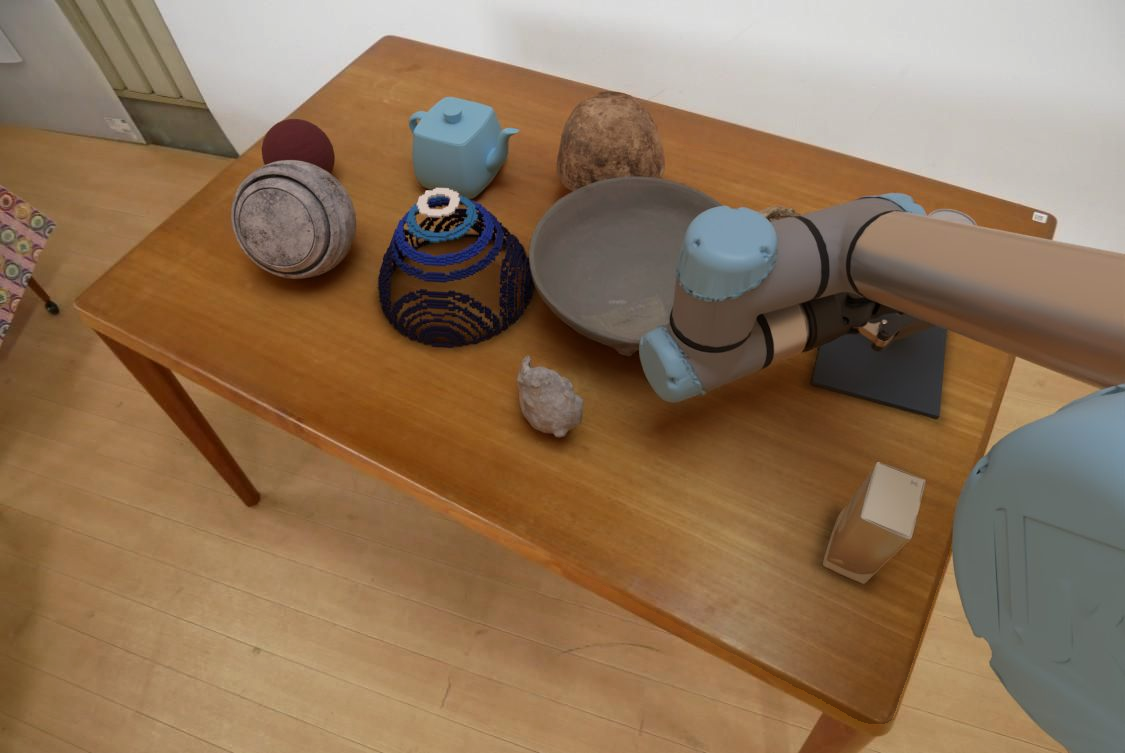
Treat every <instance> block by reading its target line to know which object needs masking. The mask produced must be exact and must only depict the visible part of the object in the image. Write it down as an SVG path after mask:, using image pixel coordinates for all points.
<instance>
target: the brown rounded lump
mask: <svg viewBox="0 0 1125 753" xmlns="http://www.w3.org/2000/svg"><path fill="white" fill-rule="evenodd" d="M665 158H666V157H665V151H664V146H663V140H662V137H661V133H660V130H659V127H658V126H657V123H656V121H655V119H654V117H653V116H652V115H651V113H650V112H649V110H648V109H647V108H646V107H645V106H644V105H642V103H640V102H639V101H638V100H637V99H636V98H635V97H634V96H633V95H631V94H628V93H625V92H620V91H615V90H614V91H612V90H609V91H608V90H606V91H605V90H604V91H599V92H595V93H594V94H593V95H590V96H588V97H587V98H585V99H584V100H582V101H580V103H578V104H577V105H576V106H575V107H574V108H573V109H572V112H571V113H570V115H569V116H568V117H567V120H566V122H565V123H564V127H563V130H562V133H561V137H560V143H559V147H558V152H557V158H556V168H555V169H556V175H557V177H558V178H559V181H560V182H561V184H562V185H563V186H564V187H566V188H567V189H568V190H569V191H571V192H573V191H575V190H577V189H579V188H582V187H584V186H586V185H589V184H591V183H594V182H598V181H601V180H606V179H611V178H619V177H653V178H660V179H663V176H664V173H665V170H666V159H665Z"/></svg>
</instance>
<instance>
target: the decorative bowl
mask: <svg viewBox="0 0 1125 753" xmlns="http://www.w3.org/2000/svg"><path fill="white" fill-rule="evenodd" d="M459 205H460V206H461V205H462V206H464V207H465V208H460V206H459ZM443 206H445V207H443ZM442 207H443V208H442ZM417 215H421V216H426V217H425V218H424V219H423V220H422V221H421V222H420V223H419V224H418V222H417ZM441 218H442V219H441ZM440 219H441V220H440ZM439 220H440V221H439ZM438 221H439V222H438ZM437 222H438V223H437ZM435 223H436V224H435ZM405 225H406V227H407V229H406V228H405ZM443 226H444V227H443ZM432 227H434V229H433V230H431V229H432ZM452 227H453V228H452ZM451 228H452V229H451ZM471 230H472V231H474V232H476V234H475V233H473V234H472V233H468V232H470V231H471ZM464 237H467V238H477V241H474V244H469V247H466V248H462V249H461V251H456V253H452V252H447V253H446V254H439V255H432V254H431V253H426V252H425V251H418V249H420V248H422V247H423V246H427V245H429V244H434V243H435V244H440V242H447V241H454V240H459V239H463V238H464ZM413 238H415V240H414V239H413ZM419 240H421V242H420V241H419ZM422 240H423V241H422ZM409 241H410V243H409ZM414 241H415V242H414ZM489 241H490V242H492V241H493V242H494V244H493V247H491V248H490V250H488V251H487V254H485V255H484V257H482V258H481V259H479V260H477V261H476V263H472V264H471V265H468V266H467V267H466V268H461V269H454V271H453V270H452V271H451V270H450V271H448V272H449V273H448V274H447V273H445V272H438V271H437V272H436V271H426V272H425V273H424V270H423V269H420V268H419V267H416V266H415V265H408V262H404V260H405V259H406V258H408V260H410V261H411V260H412V262H416V263H417V264H423V266H428V267H429V266H431V267H433V266H434V267H447V266H454V265H455V264H457V265H458V264H459V265H461V264H462V263H464V261H465V262H468V261H469V260H472V259H473V258H475V257H477V256H479V255H480V252H481V253H482V252H483V251H485V249H486V246H489ZM415 244H416V245H415ZM503 246H505V247H506V250H505V254H504V258H502V259H501V263H500V264H501V266H500V273H499V285H501V287H500V286H499V291H498V292H499V294H501V296H498V307H499V310H498V311H499V313H498V315H499V317H498V315H497V314H495V313H494V312H493V310H492V308H490V307H489V306H488V307H487V305H483V303H482V302H480V300H475V297H471V296H470V294H466V293H465V294H464V293H463V292H457V291H456V290H448V291H435V290H428V289H426V288H420V289H419V290H416V289H415V291H409V292H408V293H403V294H404V295H402V296H400V297H399V299H397V300H396V301H395V302H393V305H392V299H391V298H392V296H391V291H392V290H391V288H392V287H391V285H392V283H391V282H392V281H391V279H392V278H391V277H392V275H393V272H394V271H395V272H396V269H397V267H398V269H400V271H402V273H405V274H406V275H407V276H409V277H413V278H415V279H418V281H419V280H421V281H424V282H428V283H445V284H447V283H448V282H455V281H461V280H462V279H467V278H469V277H470V276H471V277H474V276H475V275H476V274H477V273H480V272H482V270H485V269H487V267H488V266H490V264H493V261H496V256H497V257H498V256H499V252H502V249H503ZM525 248H526V247H524V245H523V244H522V243H521V242H520V239H519V238H518V237H517V236H516V235H515V234H513V233H511V231H509V228H507V227H506V226H504V225H503V222H501V221H499V220H498V217H496V215H495V214H493V212H491V211H490V210H488V208H486V207H485V206H482V203H479V202H476V201H474V200H471V199H467V197H463V196H462V195H459V193H457V192H456V191H453V190H449V188H435V189H433V190H430V189H428V190H425V191H424V194H421V195H419V197H418V199H417V201H416V203H413V206H410V208H409V210H408V211H407V212H406V213H405V215H403V216H402V218H401V219H399V220H398V223H397V225H396V228H395V229H394V231H393V235H392V237H391V240H390V242H389V245H388V247H387V248H386V250H385V253H383V257H382V262H381V266H380V268H379V274H378V277H377V282H378V283H377V289H378V294H379V295H378V298H379V303H380V304H381V310H382V312H383V314H384V317H385V318H386V319H387V321H388V323H389V325H392V326H393V329H394V330H397V332H399V333H400V335H402V336H404V337H407V338H408V339H409V340H410V341H417V343H423V345H428V346H429V345H430V346H431V347H435V348H449V349H450V348H452V349H453V348H454V347H463V346H469V345H478V343H481V342H485V341H486V340H487V341H488V340H490V339H492V337H493V338H494V337H495V336H499V334H502V331H503V332H504V331H506V330H508V329H509V327H511V326H512V325H514V324H516V321H518V320H519V318H521V316H524V311H525V310H527V305H530V301H531V300H532V299H533V294H534V289H535V284H534V281H533V278H532V275H531V270H530V262H529V256H528V255H527V251H526V249H525ZM508 263H509V264H508ZM507 264H508V265H507ZM512 268H513V269H512ZM520 272H521V277H520ZM509 273H510V274H509ZM519 278H520V287H519ZM514 280H515V281H514ZM519 288H520V289H519ZM518 294H519V296H518ZM424 296H425V297H427V298H424V299H423V297H424ZM518 297H519V303H520V304H519V303H518ZM449 298H452V301H451V299H449ZM419 299H420V300H419ZM417 301H419V302H417ZM411 302H415V305H412V306H408V307H407V308H406V309H405V310H403V307H404V306H405V305H409V304H410V303H411ZM456 302H457V303H461V304H462V305H468V306H464V307H463V306H461V305H460V304H457V303H456ZM518 304H519V305H518ZM468 307H469V308H471V309H472V310H476V311H478V314H482V315H483V316H484V319H486V320H488V321H489V322H487V321H485V320H483V316H482V315H481V316H478V315H477V314H475V313H474V312H473V311H471V310H470V309H469V308H468ZM518 307H520V310H518ZM428 309H429V310H430V309H432V310H447V312H444V313H433V312H432V311H429V310H428ZM401 310H403V311H401ZM400 311H401V312H400ZM421 311H422V312H421ZM456 312H457V313H456ZM400 313H401V314H400ZM460 313H461V315H459V314H460ZM398 314H400V316H399V317H398ZM412 314H413V315H412ZM513 314H515V315H513ZM411 315H412V316H411ZM426 315H429V316H430V317H433V318H422V317H426ZM445 316H448V317H451V318H457V319H458V320H460V322H461V321H462V322H463V323H465V324H466V325H470V329H473V330H474V331H475V333H476V334H474V333H472V330H470V329H469V328H468V327H467V326H464V324H462V323H457V322H456V321H454V320H453V319H443V318H445ZM409 317H410V318H409ZM500 317H501V319H500ZM406 318H408V319H406ZM418 318H419V321H417V322H415V323H413V322H414V321H415V320H417V319H418ZM501 320H502V321H501ZM412 323H413V324H412ZM431 323H436V324H435V325H434V324H431ZM489 323H490V324H491V325H490V324H489ZM427 324H429V326H427ZM437 324H449V325H437ZM501 324H502V325H501ZM404 325H405V326H404ZM476 325H477V326H476ZM423 326H425V327H424V328H421V327H423ZM491 326H492V327H491ZM453 327H455V328H456V329H458V330H456V329H455V328H453ZM479 328H480V329H482V331H481V330H479ZM419 329H420V330H419ZM418 330H419V333H418V334H416V333H417V331H418ZM461 332H463V333H465V334H466V335H464V334H463V333H461ZM482 332H485V335H483V334H482ZM477 334H478V335H477ZM466 336H469V338H471V340H467V339H466ZM438 338H444V339H445V340H447V341H448V342H441V341H435V340H436V339H438Z"/></svg>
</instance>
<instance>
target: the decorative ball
mask: <svg viewBox="0 0 1125 753" xmlns="http://www.w3.org/2000/svg"><path fill="white" fill-rule="evenodd" d="M261 158H262V162H263V166H265V165H267V164H270V163H273V162H277V161H283V160H297V161H303V162H307V163H310V164H313V165H316V166H318V167H320V168H322V169H324V170H325V171H327V172H329V173H330V174H331V175H332V173H333V171H334V167H335V163H336V162H335V159H336V156H335V151H334V146H333V144H332V142H331V140H330V138H329V136H328V135H327V134H326V133H325V132H324V131H323V129H322V128H320V127H319V126H318V125H316V124H314V123H312V122H311V121H308V120H305V119H300V118H288V119H287V118H286V119H284V120H280V121H278V122H277V123H275V124H274V125H272V127H270V128H269V130H268V131H267V132H266V134H265V136H264V137H263V139H262V145H261Z"/></svg>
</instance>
